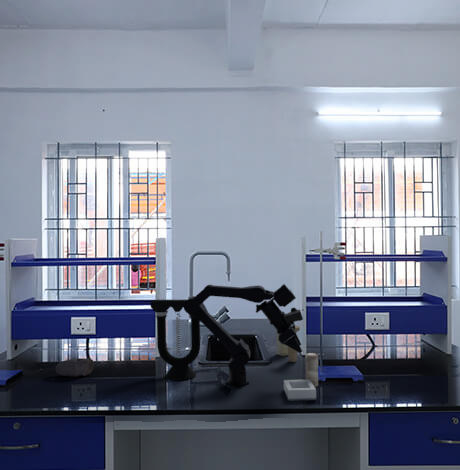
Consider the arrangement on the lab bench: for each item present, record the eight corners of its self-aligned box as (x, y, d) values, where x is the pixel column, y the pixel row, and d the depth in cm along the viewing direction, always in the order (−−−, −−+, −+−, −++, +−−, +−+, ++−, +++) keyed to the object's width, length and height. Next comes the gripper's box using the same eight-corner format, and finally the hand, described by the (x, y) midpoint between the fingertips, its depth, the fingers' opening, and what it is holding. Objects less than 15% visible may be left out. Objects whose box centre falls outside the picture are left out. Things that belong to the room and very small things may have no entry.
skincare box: (282, 356, 188) (282, 329, 188) (276, 354, 192) (275, 327, 192) (292, 354, 192) (292, 327, 192) (286, 351, 196) (286, 326, 195)
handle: (284, 359, 183) (284, 325, 183) (299, 359, 183) (298, 325, 183) (286, 363, 179) (285, 328, 179) (301, 362, 178) (300, 328, 178)
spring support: (205, 371, 170) (204, 298, 170) (200, 381, 158) (198, 303, 158) (156, 369, 172) (155, 297, 172) (147, 380, 160) (146, 302, 160)
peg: (303, 384, 153) (303, 354, 153) (311, 381, 156) (311, 352, 156) (312, 387, 150) (312, 357, 150) (320, 385, 152) (320, 355, 152)
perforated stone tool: (52, 377, 165) (52, 360, 165) (59, 373, 170) (59, 356, 170) (89, 378, 163) (88, 360, 163) (94, 374, 169) (94, 357, 169)
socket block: (288, 400, 139) (288, 390, 139) (283, 390, 148) (283, 380, 148) (316, 399, 139) (316, 389, 139) (310, 389, 148) (309, 379, 148)
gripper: (292, 306, 144) (320, 342, 143) (291, 297, 162) (316, 329, 161) (266, 325, 145) (294, 361, 144) (268, 314, 163) (293, 346, 162)
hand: (300, 348), depth 153 cm, fingers open, 9 cm apart
